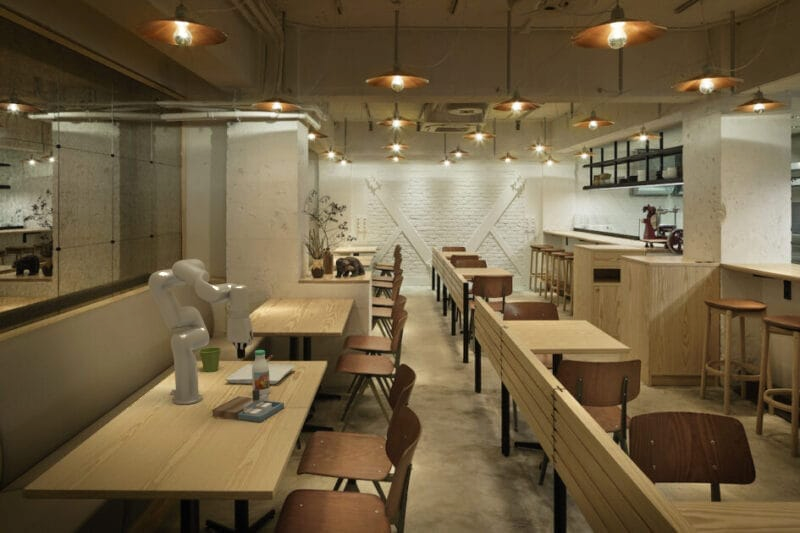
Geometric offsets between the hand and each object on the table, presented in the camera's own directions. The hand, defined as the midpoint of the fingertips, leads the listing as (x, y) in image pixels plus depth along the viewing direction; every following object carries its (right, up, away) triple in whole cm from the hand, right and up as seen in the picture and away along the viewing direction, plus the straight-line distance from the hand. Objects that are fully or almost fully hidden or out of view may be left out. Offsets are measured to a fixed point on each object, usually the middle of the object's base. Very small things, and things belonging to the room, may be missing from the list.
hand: (241, 357), depth 249 cm
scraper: (+6, -20, -1) cm, 21 cm away
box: (+9, -23, -1) cm, 25 cm away
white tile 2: (+9, -22, +3) cm, 24 cm away
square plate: (-4, -19, +52) cm, 55 cm away
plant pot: (-34, -17, +67) cm, 77 cm away
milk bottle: (+2, -21, +27) cm, 34 cm away
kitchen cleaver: (-10, -16, +83) cm, 85 cm away
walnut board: (-2, -23, +3) cm, 23 cm away
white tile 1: (+6, -23, -4) cm, 24 cm away
